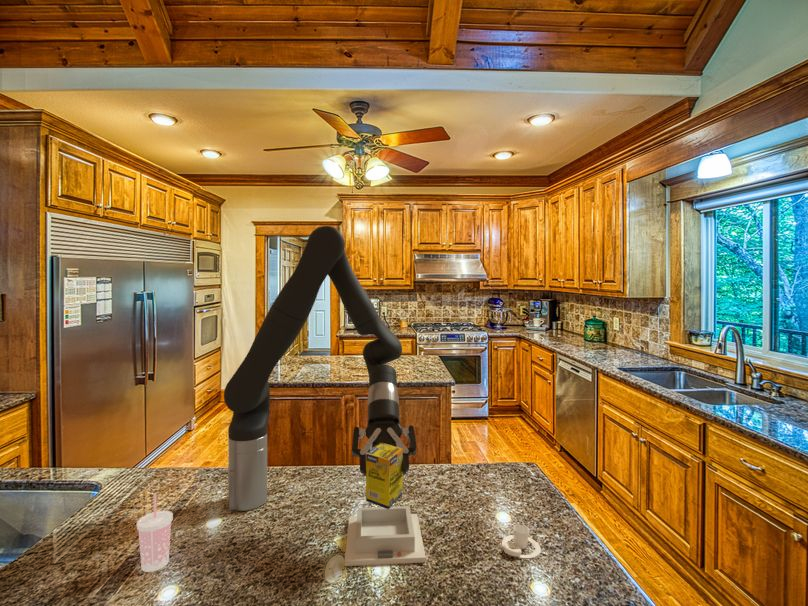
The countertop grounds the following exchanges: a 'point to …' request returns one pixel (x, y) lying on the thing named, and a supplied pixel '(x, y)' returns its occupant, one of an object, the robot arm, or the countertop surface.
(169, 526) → the beverage cup
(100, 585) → the countertop surface
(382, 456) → the supplement box
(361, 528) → the socket base
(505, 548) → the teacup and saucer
